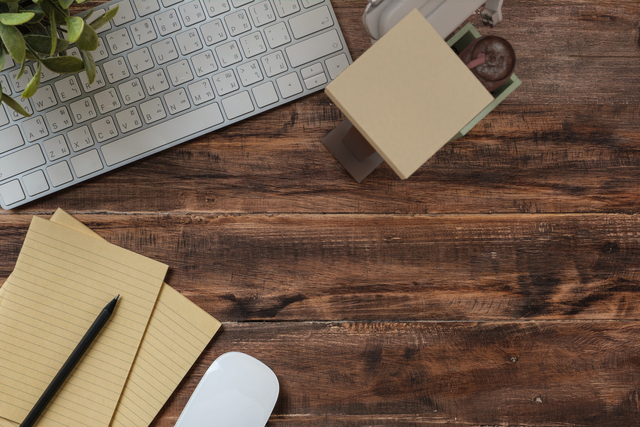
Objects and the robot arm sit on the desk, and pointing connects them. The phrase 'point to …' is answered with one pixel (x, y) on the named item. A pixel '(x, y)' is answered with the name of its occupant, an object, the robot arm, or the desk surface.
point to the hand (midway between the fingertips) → (464, 49)
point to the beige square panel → (408, 94)
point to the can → (490, 60)
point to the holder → (501, 92)
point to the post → (352, 150)
